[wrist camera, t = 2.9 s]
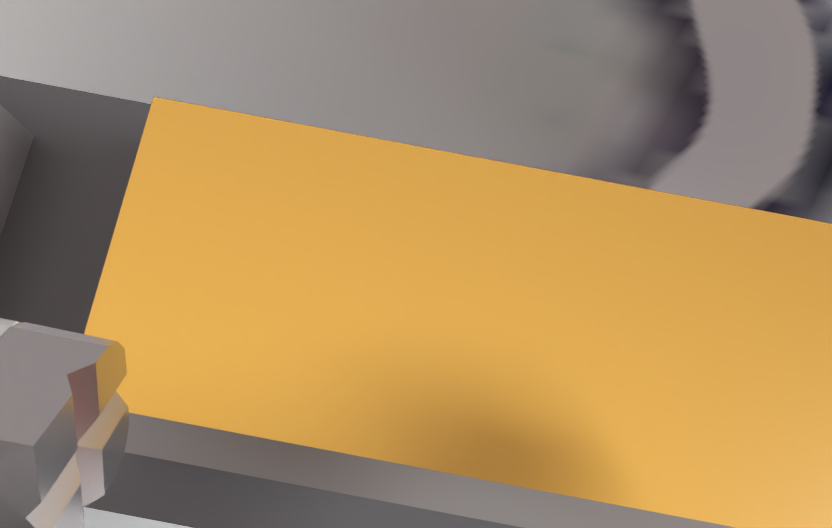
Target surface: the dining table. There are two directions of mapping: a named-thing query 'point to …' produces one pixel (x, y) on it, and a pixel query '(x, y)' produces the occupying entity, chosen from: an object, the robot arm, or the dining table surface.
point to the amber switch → (474, 318)
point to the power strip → (71, 288)
